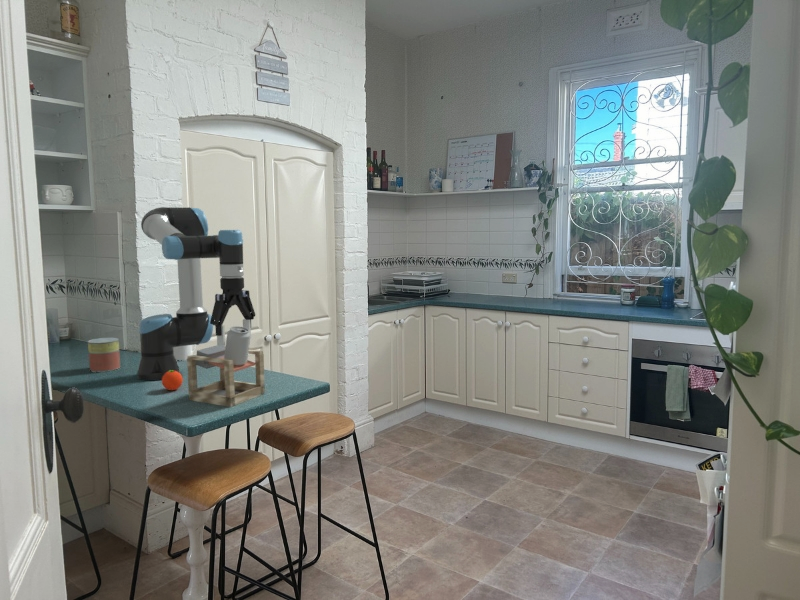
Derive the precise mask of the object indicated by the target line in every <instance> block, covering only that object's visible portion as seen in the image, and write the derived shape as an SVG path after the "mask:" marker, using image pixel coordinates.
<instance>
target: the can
mask: <svg viewBox="0 0 800 600" xmlns="http://www.w3.org/2000/svg"><path fill="white" fill-rule="evenodd" d="M250 336H251V337H252V333H251V334H250V333H249V329H247V328H244V327H243V326H231V327H230V328H229V330H228V331H227V334H226V339H225V346H226V348H225V356H224V359H228V360H233V365H234V366H242V365H244V364H245V363H247V360H249V359H248V357H249V354H248V351H249V350H250V342H251V339H250Z"/></svg>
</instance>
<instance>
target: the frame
mask: <svg viewBox="0 0 800 600" xmlns="http://www.w3.org/2000/svg"><path fill="white" fill-rule="evenodd" d="M250 354H251V355H255V356H254V359H255V360H254V361H255V362H254V363H255V365H254V366H255V383H253V382H246V381H239V380H235V372H234V365H233V360H228V359H220V358H212V357H204V356H196V355H197V354H196V355H194V354H193V355H189V356H187V360H186V364H187V368H186V370H187V385H188V387H187V389H188V400H189V401H192V402H193V401H194V402H199V403H206V404H211V405H216V406H221V407H229V408H232V407H234V406H238V405H239V404H242V403H244V402H247V401H249V400H253V399H254V398H257V397H259V396H262V395H265V394H266V393H265V392H266V390H265V362H264V361H265V358H264V356H265V355H264V351H263V350H258V349H257V350H255V349H249V351H248V355H250ZM196 360H201V361H208V362H216V363H224V369H222V368H220V367H219V375H220V376H219V377H220V380H218V381H216V382H212V383H208V384H206V385H203V386H200V387H198V374H197V373H198V371H197V365H196ZM264 393H265V394H264Z"/></svg>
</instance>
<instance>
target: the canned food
mask: <svg viewBox="0 0 800 600" xmlns="http://www.w3.org/2000/svg"><path fill="white" fill-rule="evenodd" d="M119 341H120V339H119V338H118V337H99V338H92V339H90V340H89V339H88V340H87V348H88V349H87V350H88V361H89V371H90V370H91V371H108V370H114V369H118V368H120V367H121V358H120V342H119ZM120 369H121V368H120ZM118 370H119V369H118Z"/></svg>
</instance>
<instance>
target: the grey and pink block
mask: <svg viewBox="0 0 800 600" xmlns="http://www.w3.org/2000/svg"><path fill="white" fill-rule="evenodd" d="M225 348H226V345H225V346H221V345H217V344H216V345H214V346H209V347H206V348H201V349H198V350H197V349H196V356H204V357H212V358H220V359H224V356H225ZM196 366H199V367H201V368H204V369H207V370H209V369H211V368H214V367H218V368H219V369H220V368H222V369H224V363H216V362H208V361H201V360H196ZM254 366H255V362H253V361H251V360H249V359H247V363H245V364H244V365H242V366H234V373H235V372H239V371H241V370H245V369H247V368H250V367H254Z"/></svg>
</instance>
